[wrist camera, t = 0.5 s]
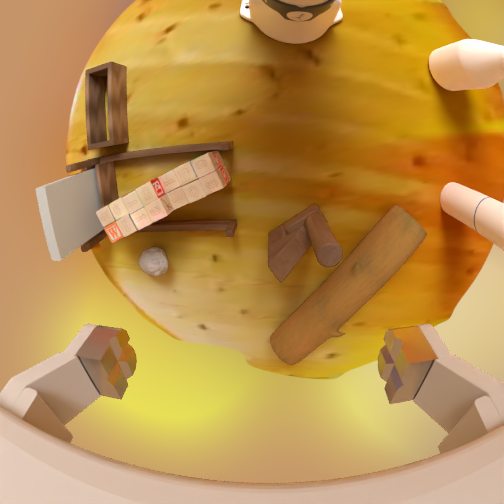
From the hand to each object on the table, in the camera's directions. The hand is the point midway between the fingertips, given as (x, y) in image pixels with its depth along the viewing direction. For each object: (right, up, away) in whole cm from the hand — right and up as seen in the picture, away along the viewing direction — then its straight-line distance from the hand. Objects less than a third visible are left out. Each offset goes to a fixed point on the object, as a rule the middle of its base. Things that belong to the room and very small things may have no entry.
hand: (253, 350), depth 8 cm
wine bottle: (+39, +40, +29) cm, 63 cm away
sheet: (-30, +15, +45) cm, 56 cm away
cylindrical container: (+43, +15, +40) cm, 61 cm away
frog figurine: (-19, +3, +50) cm, 53 cm away
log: (+19, -3, +50) cm, 54 cm away
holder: (-27, +32, +37) cm, 56 cm away
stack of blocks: (-15, +16, +44) cm, 49 cm away
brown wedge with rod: (+8, +8, +46) cm, 47 cm away
